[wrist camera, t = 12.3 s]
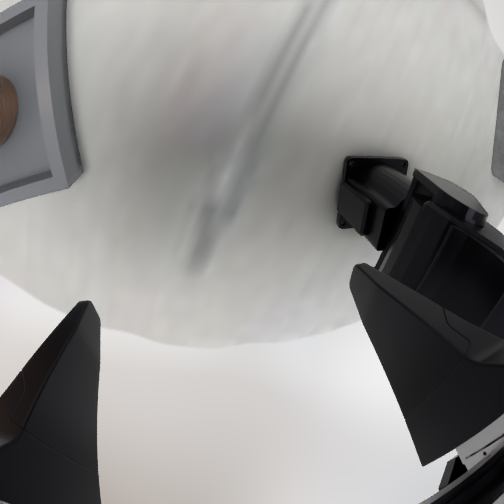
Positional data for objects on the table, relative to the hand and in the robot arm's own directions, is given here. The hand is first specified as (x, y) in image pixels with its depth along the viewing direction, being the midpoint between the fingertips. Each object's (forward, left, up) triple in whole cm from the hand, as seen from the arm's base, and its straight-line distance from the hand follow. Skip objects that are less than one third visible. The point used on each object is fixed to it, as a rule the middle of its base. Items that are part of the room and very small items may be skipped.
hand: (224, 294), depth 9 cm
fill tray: (+16, -8, -13) cm, 22 cm away
